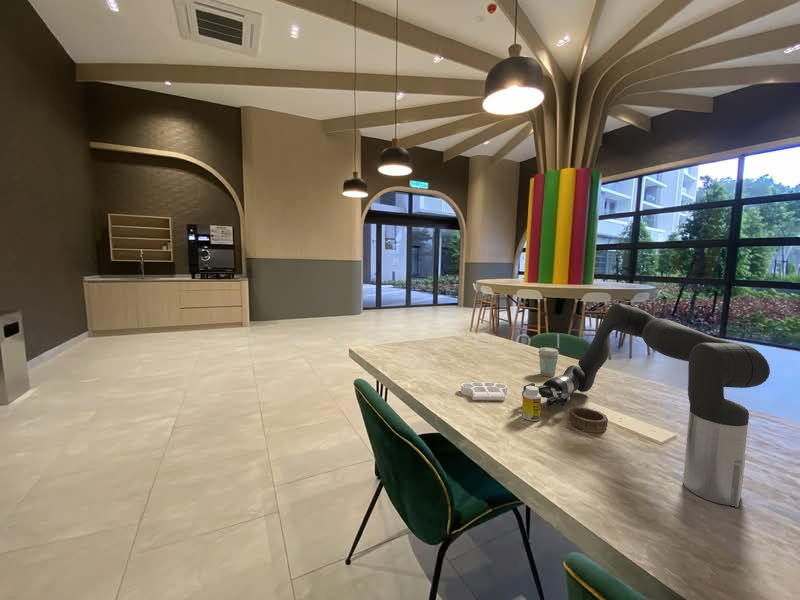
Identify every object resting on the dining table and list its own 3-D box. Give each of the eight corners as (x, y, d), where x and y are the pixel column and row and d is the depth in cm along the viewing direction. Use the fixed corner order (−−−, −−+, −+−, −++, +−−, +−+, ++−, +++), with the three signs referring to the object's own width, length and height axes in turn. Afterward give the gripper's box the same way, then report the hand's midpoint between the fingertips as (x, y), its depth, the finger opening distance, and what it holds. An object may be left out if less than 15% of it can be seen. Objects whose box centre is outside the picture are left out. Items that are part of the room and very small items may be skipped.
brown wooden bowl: (611, 426, 104) (612, 415, 103) (598, 436, 97) (599, 425, 97) (577, 415, 111) (578, 405, 111) (564, 424, 105) (564, 413, 105)
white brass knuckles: (464, 402, 123) (458, 388, 137) (513, 403, 122) (502, 388, 137) (464, 393, 123) (458, 380, 137) (514, 394, 122) (502, 380, 137)
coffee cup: (539, 370, 159) (540, 346, 158) (558, 373, 155) (560, 348, 153) (536, 375, 152) (537, 350, 150) (556, 379, 147) (558, 352, 146)
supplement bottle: (533, 423, 106) (534, 392, 105) (518, 416, 110) (519, 386, 109) (543, 419, 109) (545, 388, 108) (528, 412, 113) (530, 383, 112)
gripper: (539, 372, 126) (516, 382, 115) (579, 383, 115) (557, 394, 104) (539, 392, 126) (515, 403, 116) (578, 404, 115) (556, 417, 105)
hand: (535, 398), depth 110 cm, fingers open, 8 cm apart
